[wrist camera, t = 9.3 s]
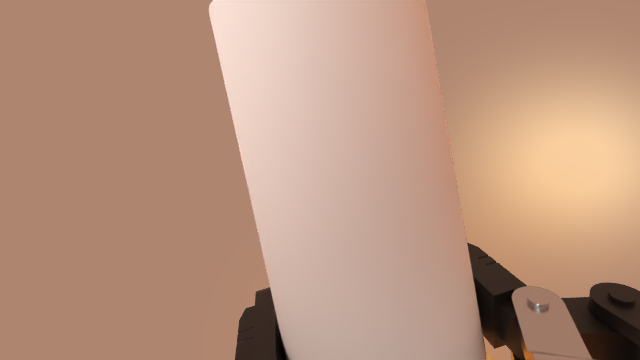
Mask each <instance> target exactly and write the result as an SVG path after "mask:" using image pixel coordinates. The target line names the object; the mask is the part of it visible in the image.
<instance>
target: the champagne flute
mask: <svg viewBox="0 0 640 360" xmlns="http://www.w3.org/2000/svg"><path fill="white" fill-rule="evenodd" d="M209 14H210V19H211V23H212V28H213V32H214V37H215V41H216V45H217V50H218V55H219V59H220V64H221V68H222V73H223V77H224V82H225V86H226V91H227V95H228V99H229V104H230V109H231V113H232V117H233V122H234V127H235V131H236V136H237V140H238V145H239V149H240V154H241V158H242V163H243V167H244V172H245V176H246V181H247V185H248V190H249V194H250V198H251V203H252V208H253V212H254V217H255V221H256V226H257V230H258V235H259V239H260V243H261V248H262V252H263V257H264V262H265V266H266V271H267V275H268V280H269V284H270V289H271V293H272V298H273V302H274V307H275V311H276V316H277V320H278V325H279V329H280V334H281V338H282V343H283V347H284V352H285V356H286V360H486V352H485V344H484V338H483V332H482V327H481V321H480V315H479V309H478V303H477V297H476V292H475V286H474V280H473V274H472V268H471V262H470V257H469V251H468V245H467V239H466V234H465V228H464V222H463V216H462V210H461V204H460V198H459V193H458V187H457V181H456V175H455V170H454V163H453V158H452V152H451V146H450V140H449V134H448V129H447V123H446V117H445V111H444V105H443V100H442V93H441V88H440V82H439V76H438V70H437V64H436V58H435V53H434V47H433V41H432V35H431V29H430V23H429V18H428V12H427V7H426V0H213V1H212V3H211V4H210V6H209Z"/></svg>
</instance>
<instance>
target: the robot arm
mask: <svg viewBox="0 0 640 360" xmlns="http://www.w3.org/2000/svg"><path fill="white" fill-rule="evenodd" d="M467 245H468V251H469V257H470V262H471V268H472V274H473V280H474V286H475V292H476V297H477V303H478V309H479V315H480V321H481V327H482V332H483V336H484V337H485V338H486V339H487V340H488V341H489V343H490V344H491V345H492V346H493V347H494V349H495V348H498V347H501V346H504V345H506V346H507V347H508V348H509V349H510V350H511V359H512V360H640V291H638V290H636V289H634V288H631V287H628V286H625V285H621V284H616V283H599V284H596V285H594V286H593V287H592V288H591V289H590V296H589V297H581V298H560V297H559V296H557V295H556V294H554V293H553V292H550V291H549V290H546V289H543V288H539V287H532V286H526V285H525V284H524V283H523V282H521V281H520V280H519V279H518V278H516V277H515V276H514V275H512V274H511V273H510V272H509V271H508V270H506V269H505V268H504V267H502V266H501V265H500V264H499V263H496V261H495V260H494V259H493V258H491V257H490V256H488V255H487V254H486V253H485V252H484V251H482V250H481V249H480V248H479V247H477V246H474V245H472V244H469V243H467ZM235 360H286V356H285V352H284V347H283V343H282V338H281V334H280V329H279V325H278V320H277V316H276V311H275V307H274V302H273V298H272V293H271V289H270V287H269V288H266V289H263V290H259V291H257V292H256V299H255V306H253V307H249V308H246V309H245V311H244V313H243V314H242V316H241V318H240V320H239V329H238V338H237V347H236V357H235Z"/></svg>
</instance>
